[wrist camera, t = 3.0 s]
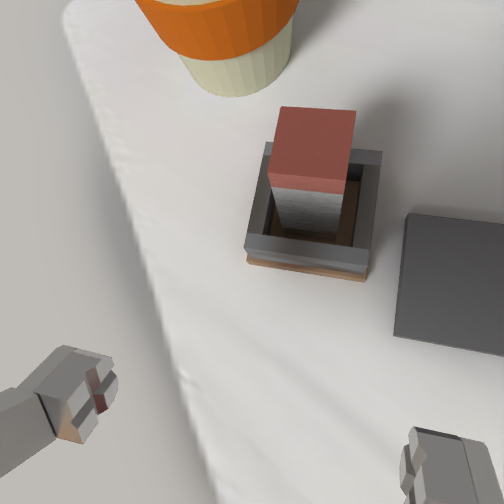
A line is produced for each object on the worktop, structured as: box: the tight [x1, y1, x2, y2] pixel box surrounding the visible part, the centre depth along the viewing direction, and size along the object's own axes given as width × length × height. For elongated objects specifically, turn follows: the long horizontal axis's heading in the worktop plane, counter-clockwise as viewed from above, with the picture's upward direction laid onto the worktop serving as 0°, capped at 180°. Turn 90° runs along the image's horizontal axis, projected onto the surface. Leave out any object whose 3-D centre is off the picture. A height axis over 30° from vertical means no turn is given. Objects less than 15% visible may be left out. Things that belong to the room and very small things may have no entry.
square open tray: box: [244, 142, 382, 282], centre depth 24 cm, size 8×8×4 cm
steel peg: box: [267, 106, 356, 241], centre depth 21 cm, size 4×4×9 cm
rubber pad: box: [393, 213, 504, 357], centre depth 23 cm, size 8×8×1 cm
